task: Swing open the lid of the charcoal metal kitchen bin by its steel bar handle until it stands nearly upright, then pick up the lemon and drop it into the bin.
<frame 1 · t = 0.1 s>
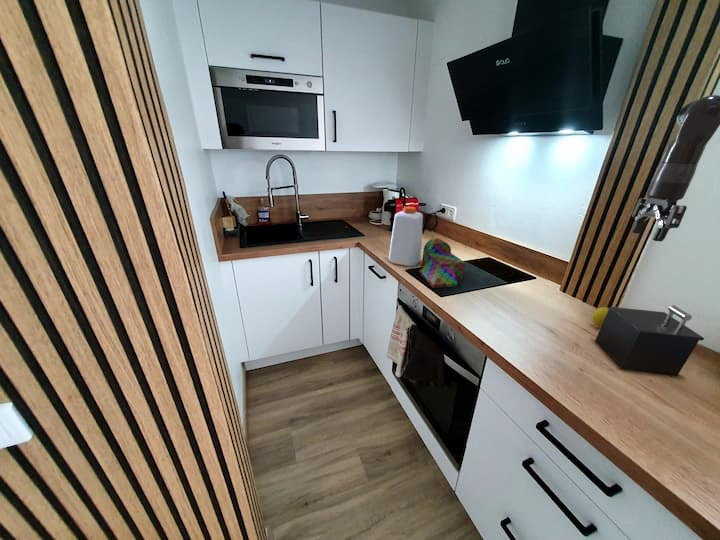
hand: (646, 236, 85), 32 cm above the worktop, tool pointing down, fingers open, 8 cm apart
rainbow lumpy figurine: (438, 275, 134), on the worktop
bin: (632, 357, 83), on the worktop
plastic bottle: (404, 261, 150), on the worktop
lemon: (598, 328, 97), on the worktop
bin lid: (655, 315, 78), point 14 cm above the worktop, hinge at 0.0°
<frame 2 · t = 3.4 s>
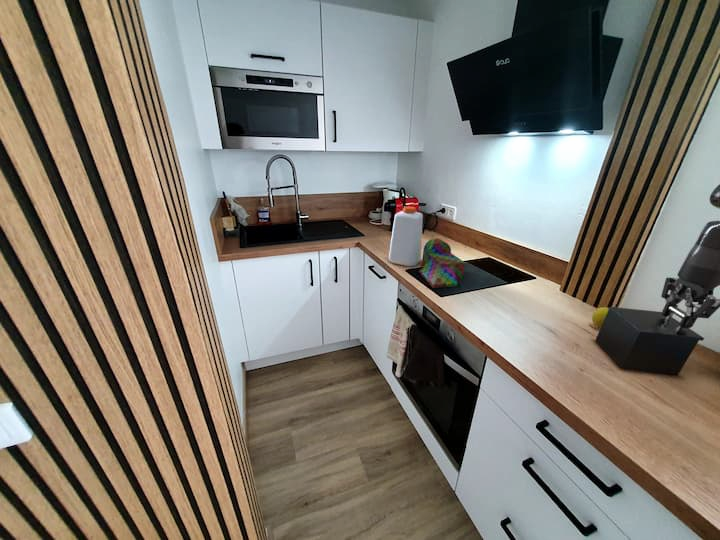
hand: (674, 321, 77), 13 cm above the worktop, tool pointing down, fingers closed on bin lid, 5 cm apart
bin lid: (655, 315, 78), point 14 cm above the worktop, hinge at 0.0°, touching gripper
everything else where it was.
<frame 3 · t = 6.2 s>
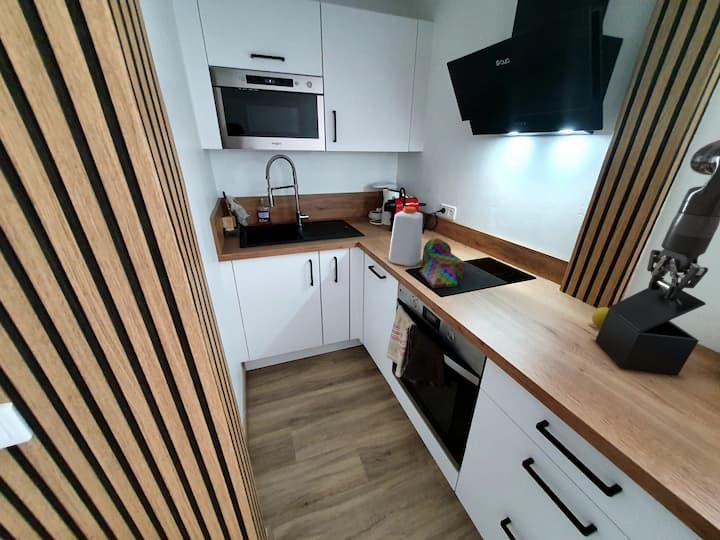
hand: (661, 293, 75), 21 cm above the worktop, tool pointing down, fingers closed on bin lid, 5 cm apart
bin lid: (648, 300, 76), point 19 cm above the worktop, hinge at 44.0°, touching gripper
everything else where it was.
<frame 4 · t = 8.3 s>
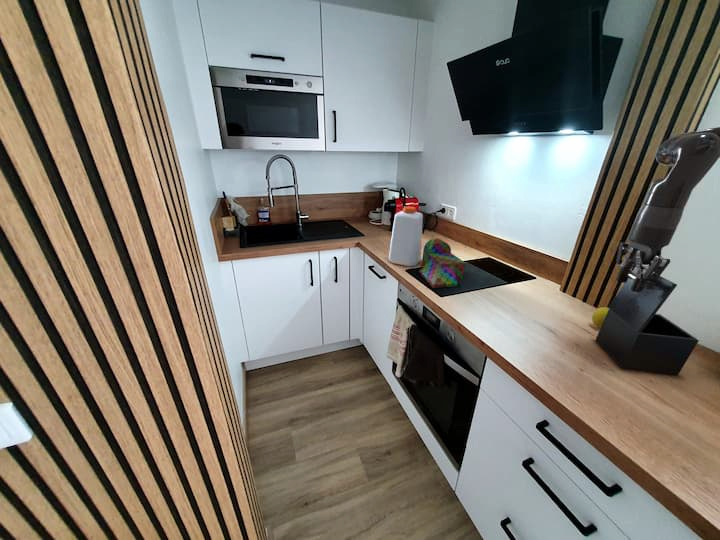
hand: (628, 286, 76), 22 cm above the worktop, tool pointing down, fingers closed on bin lid, 5 cm apart
bin lid: (630, 295, 77), point 20 cm above the worktop, hinge at 80.3°, touching gripper
everything else where it was.
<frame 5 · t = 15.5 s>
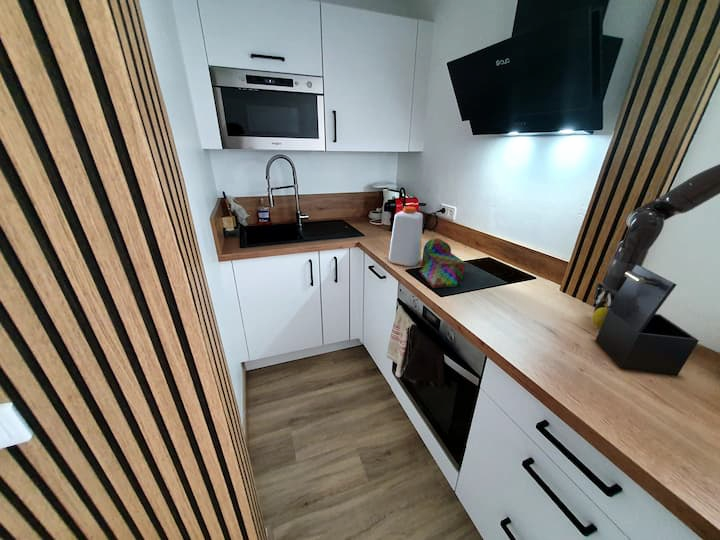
hand: (602, 318, 96), 4 cm above the worktop, tool pointing down, fingers closed on lemon, 5 cm apart
lemon: (598, 328, 97), on the worktop, touching gripper
bin lid: (630, 295, 77), point 20 cm above the worktop, hinge at 80.9°
everything else where it was.
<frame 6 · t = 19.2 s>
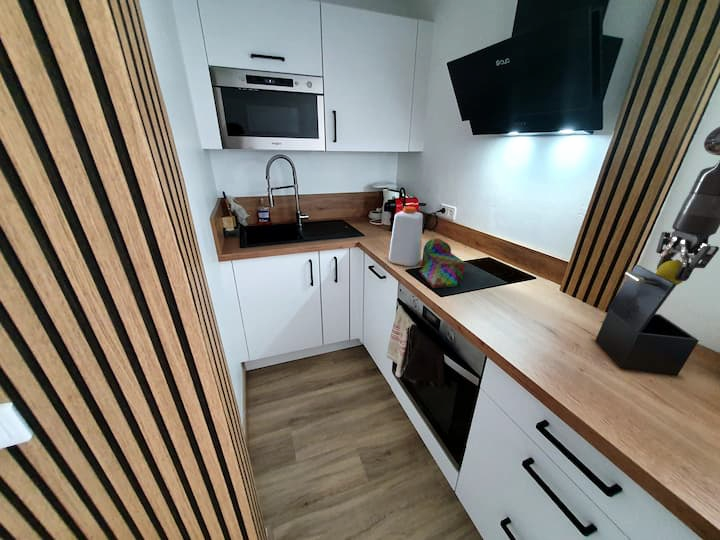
hand: (670, 275, 76), 25 cm above the worktop, tool pointing down, fingers closed on lemon, 5 cm apart
lemon: (664, 287, 78), point 21 cm above the worktop, touching gripper
everything else where it was.
when the fingers open (13 cm above the worktop, at t = 23.0 s): lemon drops 8 cm, resting on bin.
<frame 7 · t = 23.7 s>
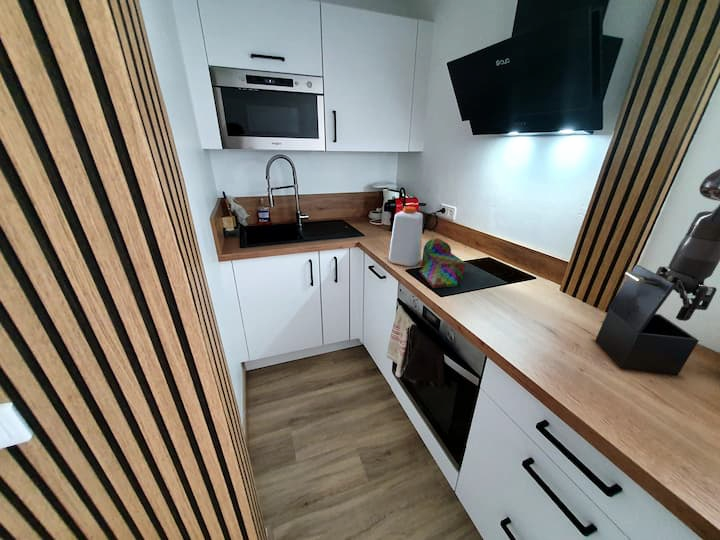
hand: (667, 311, 77), 16 cm above the worktop, tool pointing down, fingers open, 8 cm apart
lemon: (645, 356, 82), point 1 cm above the worktop, touching bin
everything else where it was.
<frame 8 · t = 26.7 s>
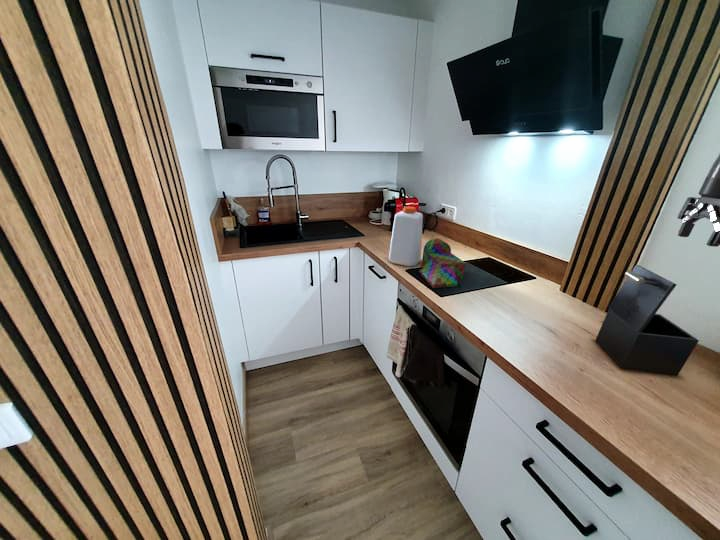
hand: (696, 241, 75), 34 cm above the worktop, tool pointing down, fingers open, 8 cm apart
nothing on the worktop moved.
at the end: bin lid at +81° (first picture: +0°); lemon inside the target area in the bin (2.6 cm from its centre), point 1.3 cm above the bin's base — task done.
